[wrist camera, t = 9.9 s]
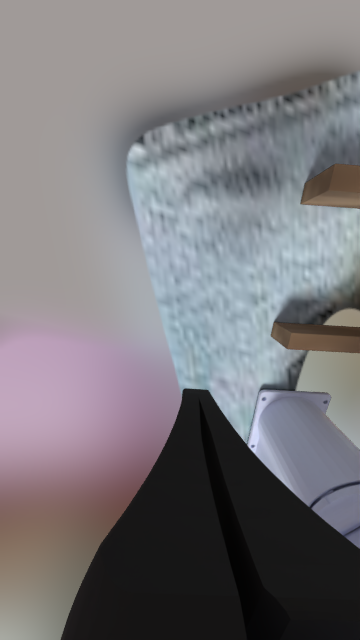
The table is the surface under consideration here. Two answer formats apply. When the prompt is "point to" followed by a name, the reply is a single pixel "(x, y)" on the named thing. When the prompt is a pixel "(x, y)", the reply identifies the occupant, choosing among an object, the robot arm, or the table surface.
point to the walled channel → (336, 191)
